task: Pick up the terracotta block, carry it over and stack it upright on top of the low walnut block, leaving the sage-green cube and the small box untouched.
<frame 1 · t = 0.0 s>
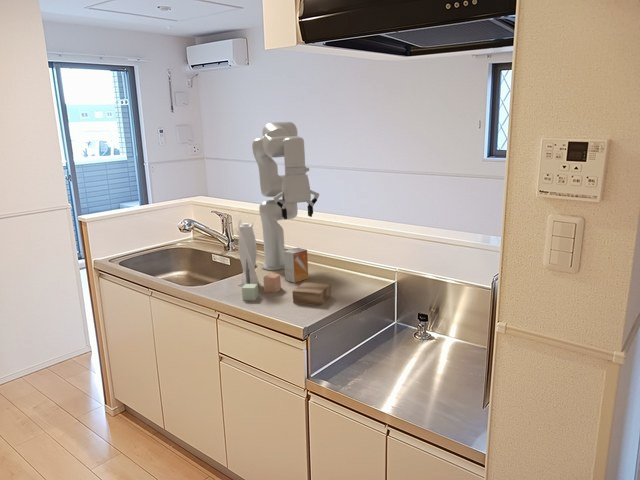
hand: (297, 217, 188), 31 cm above the worktop, tool pointing down, fingers open, 9 cm apart
small box: (297, 279, 217), on the worktop
sage cube: (250, 298, 197), on the worktop
walnut block: (312, 300, 192), on the worktop
terracotta block: (272, 289, 205), on the worktop
skyscraper: (249, 285, 214), on the worktop
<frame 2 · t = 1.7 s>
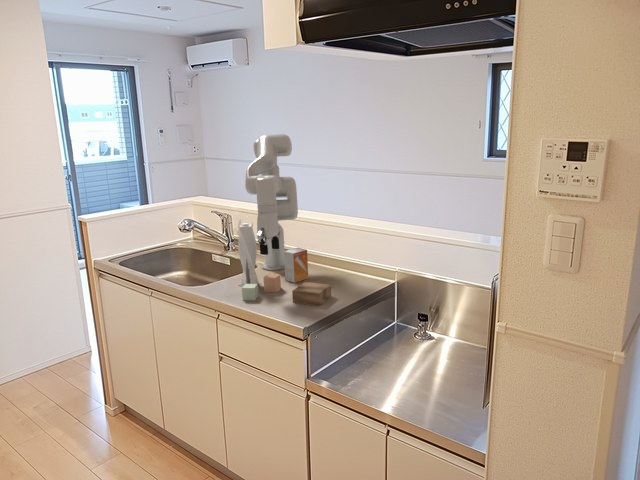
hand: (270, 251, 201), 16 cm above the worktop, tool pointing down, fingers open, 9 cm apart
nothing on the worktop moved.
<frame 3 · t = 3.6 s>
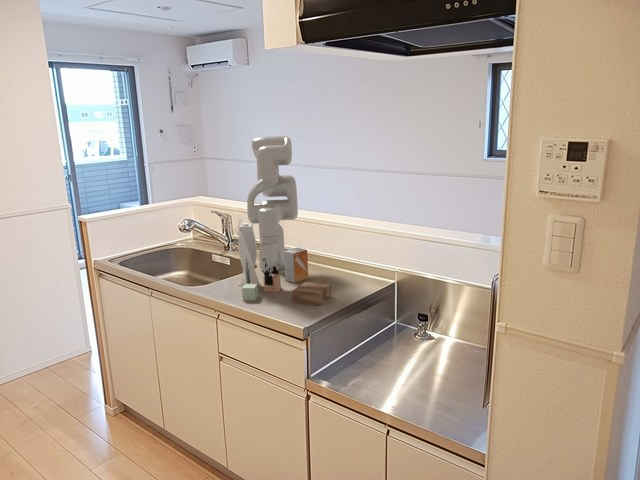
hand: (272, 282, 204), 3 cm above the worktop, tool pointing down, fingers closed on terracotta block, 5 cm apart
terracotta block: (272, 289, 205), on the worktop, touching gripper
everything else where it was.
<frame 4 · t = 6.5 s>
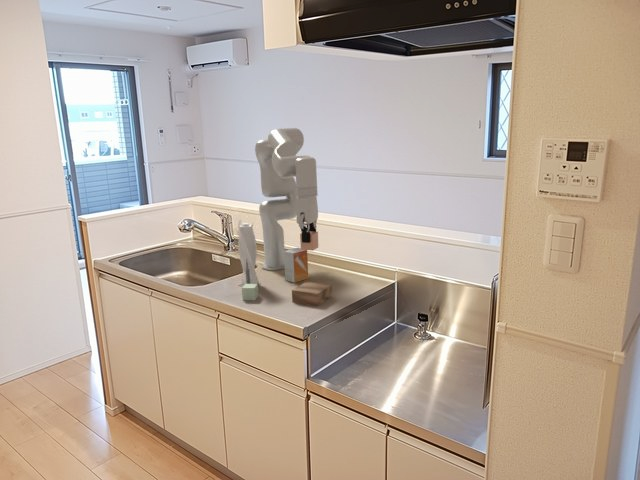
hand: (309, 240, 187), 23 cm above the worktop, tool pointing down, fingers closed on terracotta block, 5 cm apart
terracotta block: (309, 248, 188), point 20 cm above the worktop, touching gripper
everything else where it was.
when the fingers open (9 cm above the worktop, at t = 9.5 s): terracotta block moves 1 cm, point 5 cm above the worktop.
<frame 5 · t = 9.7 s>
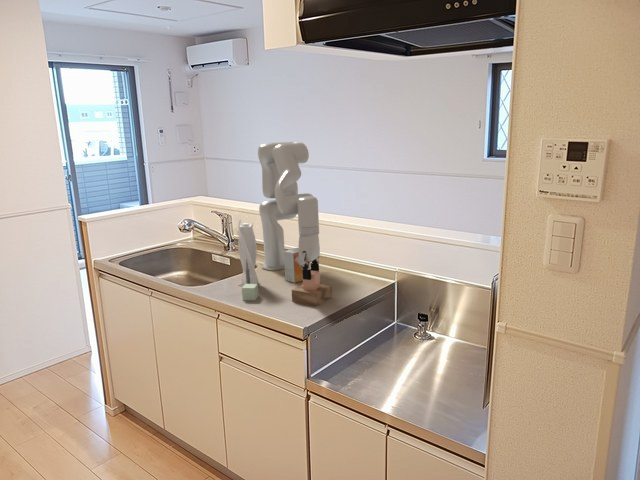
hand: (311, 276, 190), 9 cm above the worktop, tool pointing down, fingers open, 7 cm apart
terracotta block: (311, 287, 191), point 5 cm above the worktop
everything else where it was.
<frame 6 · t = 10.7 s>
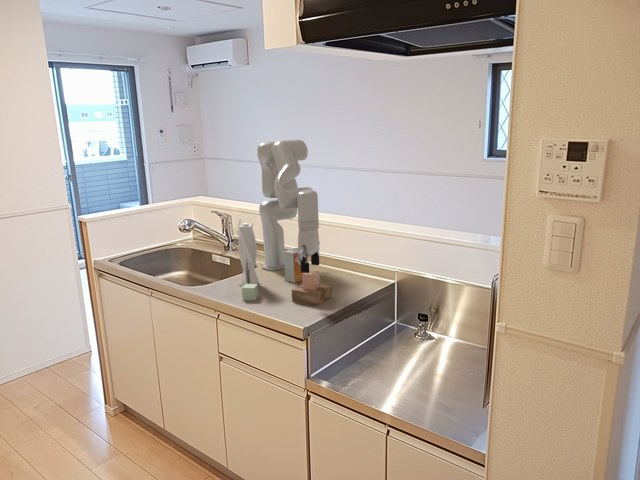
hand: (310, 268, 190), 12 cm above the worktop, tool pointing down, fingers open, 9 cm apart
walnut block: (312, 300, 193), on the worktop, touching terracotta block
terracotta block: (311, 287, 191), point 5 cm above the worktop, touching walnut block
everything else where it was.
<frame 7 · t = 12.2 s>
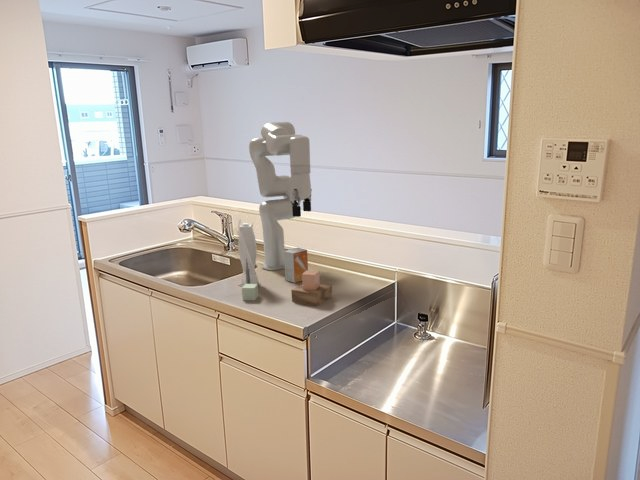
hand: (302, 213, 196), 31 cm above the worktop, tool pointing down, fingers open, 9 cm apart
walnut block: (312, 300, 193), on the worktop
terracotta block: (311, 287, 191), point 5 cm above the worktop
everything else where it was.
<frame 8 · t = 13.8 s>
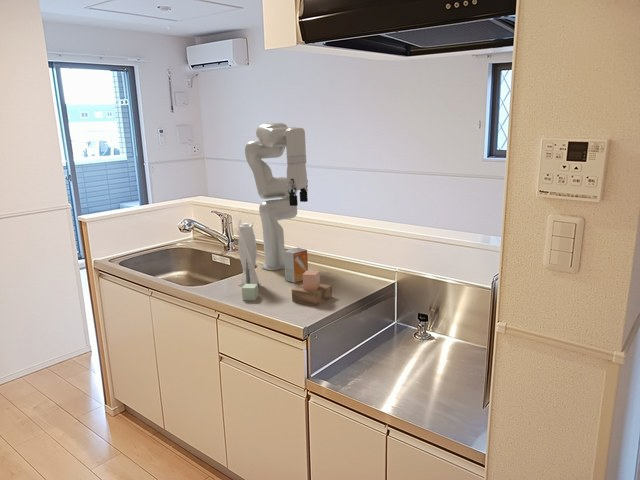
hand: (298, 203, 201), 34 cm above the worktop, tool pointing down, fingers open, 9 cm apart
walnut block: (312, 299, 193), on the worktop, touching terracotta block
terracotta block: (311, 287, 191), point 5 cm above the worktop, touching walnut block
everything else where it was.
at the end: terracotta block inside the target area on the walnut block (0.3 cm from its centre), point 5.0 cm above the walnut block's base; terracotta block tilted 1°; the gripper is holding nothing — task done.
